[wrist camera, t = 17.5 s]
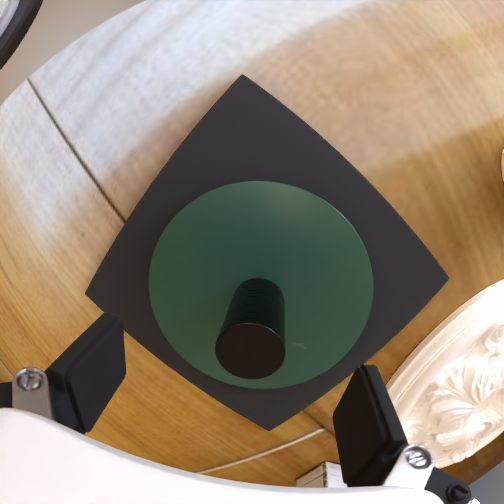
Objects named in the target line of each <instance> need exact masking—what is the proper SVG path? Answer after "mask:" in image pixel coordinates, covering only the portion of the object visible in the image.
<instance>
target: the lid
mask: <svg viewBox="0 0 504 504" xmlns="http://www.w3.org/2000/svg"><path fill="white" fill-rule="evenodd" d="M149 294H150V301H151V305H152V309H153V312H154V316H155V318H156V320H157V323H158V325H159V327H160V329H161V331H162V332H163V334H164V336H165V337H166V339H167V340H168V342H169V343H170V344H171V346H172V347H173V348H174V349H175V350H176V351H177V352H178V353H179V354H180V355H181V357H182V358H184V359H185V360H186V361H187V362H188V363H190V364H191V365H192V366H194V367H195V368H197V369H198V370H200V371H201V372H203V373H205V374H206V375H208V376H210V377H212V378H214V379H217V380H220V381H222V382H225V383H228V384H232V385H235V386H239V387H246V388H255V389H271V388H281V387H287V386H292V385H295V384H299V383H302V382H305V381H307V380H309V379H312V378H314V377H316V376H318V375H320V374H321V373H323V372H325V371H327V370H328V369H329V368H331V367H332V366H334V365H335V364H336V363H337V362H338V361H340V360H341V359H342V358H343V357H344V356H345V355H346V354H347V353H348V352H349V350H350V349H351V348H352V347H353V346H354V344H355V343H356V341H357V340H358V338H359V336H360V335H361V333H362V331H363V329H364V327H365V325H366V322H367V320H368V316H369V313H370V310H371V305H372V298H373V276H372V268H371V264H370V261H369V257H368V254H367V251H366V249H365V247H364V245H363V242H362V240H361V238H360V237H359V235H358V234H357V232H356V231H355V229H354V228H353V226H352V225H351V224H350V223H349V221H348V220H347V219H346V218H345V217H344V216H343V215H342V214H341V213H340V212H339V211H338V210H337V209H335V208H334V207H333V206H332V205H331V204H329V203H328V202H326V201H325V200H323V199H321V198H320V197H318V196H317V195H315V194H313V193H311V192H308V191H306V190H304V189H301V188H299V187H296V186H292V185H289V184H285V183H280V182H272V181H246V182H239V183H233V184H229V185H226V186H222V187H219V188H216V189H214V190H212V191H209V192H207V193H205V194H203V195H201V196H199V197H198V198H196V199H195V200H193V201H192V202H190V203H189V204H188V205H186V206H185V207H184V208H183V209H182V210H181V211H179V212H178V213H177V214H176V215H175V217H174V218H173V219H172V220H171V221H170V222H169V224H168V225H167V226H166V228H165V230H164V231H163V233H162V234H161V236H160V238H159V240H158V242H157V245H156V247H155V249H154V252H153V256H152V260H151V263H150V271H149Z"/></svg>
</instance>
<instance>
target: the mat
mask: <svg viewBox="0 0 504 504" xmlns="http://www.w3.org/2000/svg"><path fill="white" fill-rule="evenodd" d="M246 181H272V182H280V183H285V184H289V185H292V186H296V187H299V188H301V189H304V190H306V191H308V192H311V193H313V194H315V195H317V196H318V197H320V198H321V199H323V200H325V201H326V202H328V203H329V204H331V205H332V206H333V207H334V208H335V209H337V210H338V211H339V212H340V213H341V214H342V215H343V216H344V217H345V218H346V219H347V220H348V221H349V223H350V224H351V225H352V226H353V228H354V229H355V231H356V232H357V234H358V235H359V237H360V238H361V240H362V242H363V245H364V247H365V249H366V251H367V254H368V257H369V261H370V264H371V268H372V276H373V298H372V305H371V310H370V313H369V316H368V320H367V322H366V325H365V327H364V329H363V331H362V333H361V335H360V336H359V338H358V340H357V341H356V343H355V344H354V346H353V347H352V348H351V349H350V350H349V352H348V353H347V354H346V355H345V356H344V357H343V358H342V359H341V360H340V361H338V362H337V363H336V364H335V365H334V366H332V367H331V368H329V369H328V370H327V371H325V372H323V373H321V374H320V375H318V376H316V377H314V378H312V379H309V380H307V381H305V382H302V383H299V384H295V385H292V386H287V387H281V388H271V389H255V388H246V387H239V386H235V385H232V384H228V383H225V382H222V381H220V380H217V379H214V378H212V377H210V376H208V375H206V374H205V373H203V372H201V371H200V370H198V369H197V368H195V367H194V366H192V365H191V364H190V363H188V362H187V361H186V360H185V359H184V358H182V357H181V355H180V354H179V353H178V352H177V351H176V350H175V349H174V348H173V347H172V346H171V344H170V343H169V342H168V340H167V339H166V337H165V336H164V334H163V332H162V331H161V329H160V327H159V325H158V323H157V320H156V318H155V316H154V312H153V309H152V305H151V301H150V294H149V271H150V263H151V260H152V256H153V252H154V249H155V247H156V245H157V242H158V240H159V238H160V236H161V234H162V233H163V231H164V230H165V228H166V226H167V225H168V224H169V222H170V221H171V220H172V219H173V218H174V217H175V215H176V214H177V213H178V212H179V211H181V210H182V209H183V208H184V207H185V206H186V205H188V204H189V203H190V202H192V201H193V200H195V199H196V198H198V197H199V196H201V195H203V194H205V193H207V192H209V191H212V190H214V189H216V188H219V187H222V186H226V185H229V184H233V183H239V182H246ZM448 280H449V277H448V275H447V274H446V273H445V271H444V270H443V269H442V267H441V266H440V265H439V263H438V262H437V261H436V259H435V258H434V257H433V255H432V254H431V253H430V251H429V250H428V249H427V248H426V246H425V245H424V244H423V243H422V241H421V240H420V239H419V238H418V236H417V235H416V234H415V233H414V232H413V230H412V229H411V228H410V227H409V226H408V224H407V223H406V222H405V221H404V220H403V219H402V217H401V216H400V215H399V214H398V213H397V212H396V211H395V209H394V208H393V207H392V206H391V205H390V204H389V203H388V202H387V201H386V199H385V198H384V197H383V196H382V195H381V194H380V193H379V192H378V191H377V190H376V189H375V188H374V187H373V186H372V185H371V184H370V182H369V181H368V180H367V179H366V178H365V177H364V176H363V175H362V174H361V173H360V172H359V171H358V170H357V169H356V168H355V167H354V166H353V165H352V164H351V163H350V162H348V161H347V160H346V159H345V158H344V157H343V156H342V155H341V154H340V153H339V152H338V151H337V150H336V149H335V148H334V147H333V146H331V145H330V144H329V143H328V142H327V141H326V140H325V139H324V138H323V137H322V136H320V135H319V134H318V133H317V132H316V131H315V130H314V129H312V128H311V127H310V126H309V125H308V124H307V123H305V122H304V121H303V120H302V119H301V118H299V117H298V116H297V115H296V114H295V113H293V112H292V111H291V110H290V109H288V108H287V107H286V106H285V105H283V104H282V103H281V102H280V101H278V100H277V99H276V98H274V97H273V96H272V95H270V94H269V93H268V92H267V91H265V90H264V89H263V88H261V87H260V86H258V85H257V84H256V83H254V82H253V81H252V80H250V79H249V78H247V77H246V76H244V75H243V74H242V75H241V76H240V77H239V78H238V79H237V80H236V81H235V82H234V83H233V84H232V85H231V86H230V88H229V89H228V90H227V91H226V92H225V93H224V94H223V95H222V96H221V97H220V99H219V100H218V101H217V102H216V103H215V104H214V105H213V106H212V108H211V109H210V110H209V111H208V112H207V113H206V114H205V116H204V117H203V118H202V119H201V120H200V122H199V123H198V124H197V125H196V126H195V128H194V129H193V130H192V131H191V133H190V134H189V135H188V136H187V137H186V139H185V140H184V141H183V142H182V144H181V145H180V146H179V148H178V149H177V150H176V151H175V153H174V154H173V155H172V157H171V158H170V159H169V161H168V162H167V163H166V165H165V166H164V167H163V169H162V170H161V171H160V173H159V174H158V176H157V177H156V178H155V180H154V181H153V183H152V184H151V185H150V187H149V188H148V190H147V191H146V193H145V194H144V196H143V197H142V198H141V200H140V201H139V203H138V204H137V206H136V207H135V209H134V210H133V212H132V213H131V215H130V217H129V218H128V220H127V221H126V223H125V224H124V226H123V228H122V229H121V231H120V232H119V234H118V236H117V237H116V239H115V241H114V242H113V244H112V246H111V247H110V249H109V251H108V252H107V254H106V256H105V258H104V259H103V261H102V263H101V265H100V266H99V268H98V270H97V272H96V274H95V275H94V277H93V279H92V281H91V283H90V285H89V287H88V288H87V290H86V292H85V294H86V295H87V296H88V297H89V298H90V299H91V300H92V301H93V302H94V303H95V304H96V305H97V306H98V307H99V308H100V309H101V310H102V311H103V312H108V313H111V314H114V315H118V316H119V318H120V320H122V321H123V330H125V331H126V332H127V333H128V334H129V335H130V336H132V337H133V338H134V339H135V340H136V341H138V342H139V343H140V344H141V345H142V346H144V347H145V348H146V349H147V350H149V351H150V352H151V353H152V354H154V355H155V356H156V357H157V358H159V359H160V360H161V361H163V362H164V363H165V364H166V365H168V366H169V367H170V368H172V369H173V370H174V371H176V372H177V373H179V374H180V375H181V376H183V377H184V378H185V379H187V380H188V381H190V382H191V383H192V384H194V385H195V386H197V387H198V388H200V389H201V390H203V391H204V392H206V393H207V394H209V395H210V396H212V397H213V398H215V399H216V400H218V401H219V402H221V403H222V404H224V405H226V406H227V407H229V408H230V409H232V410H234V411H235V412H237V413H238V414H240V415H242V416H243V417H245V418H247V419H249V420H250V421H252V422H254V423H255V424H257V425H259V426H261V427H263V428H264V429H266V430H268V431H270V430H272V429H273V428H275V427H277V426H278V425H280V424H281V423H283V422H285V421H286V420H288V419H289V418H291V417H292V416H294V415H295V414H297V413H298V412H300V411H301V410H303V409H304V408H306V407H307V406H309V405H310V404H311V403H313V402H314V401H316V400H317V399H318V398H320V397H321V396H323V395H324V394H325V393H327V392H328V391H329V390H331V389H332V388H333V387H335V386H336V385H337V384H339V383H340V382H341V381H343V380H344V379H345V378H346V377H348V376H349V375H350V374H351V373H353V372H354V371H355V370H356V368H359V367H360V366H361V365H362V364H364V363H365V362H366V361H367V360H368V359H369V358H371V357H372V356H373V355H374V354H375V353H376V352H377V351H379V350H380V349H381V348H382V347H383V346H384V345H385V344H386V343H388V342H389V341H390V340H391V339H392V338H393V337H394V336H395V335H396V334H397V333H398V332H399V331H400V330H401V329H402V328H403V327H404V326H406V325H407V324H408V323H409V322H410V321H411V320H412V319H413V318H414V317H415V316H416V315H417V314H418V312H419V311H420V310H421V309H422V308H423V307H424V306H425V305H426V304H427V303H428V302H429V301H430V300H431V299H432V298H433V297H434V296H435V294H436V293H437V292H438V291H439V290H440V289H441V288H442V287H443V285H444V284H445V283H446V282H447V281H448Z"/></svg>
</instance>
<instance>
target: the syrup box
mask: <svg viewBox="0 0 504 504" xmlns="http://www.w3.org/2000/svg"><path fill="white" fill-rule="evenodd" d="M294 487H303V488H347V484H344V482H343V478H342V472H341V465H339V464H335V463H331V462H327V461H326V462H324V463H322V464H321V465H319V466H318V467H316V468H315V469H313V470H311V471H310V472H308V473H306V474H305V475H303V476H301V477H300V478H298V479H296V480H295V485H294Z"/></svg>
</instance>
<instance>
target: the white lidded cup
mask: <svg viewBox="0 0 504 504" xmlns="http://www.w3.org/2000/svg"><path fill="white" fill-rule="evenodd" d="M501 170H502V179H503V182H504V149H503V151H502V159H501Z"/></svg>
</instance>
